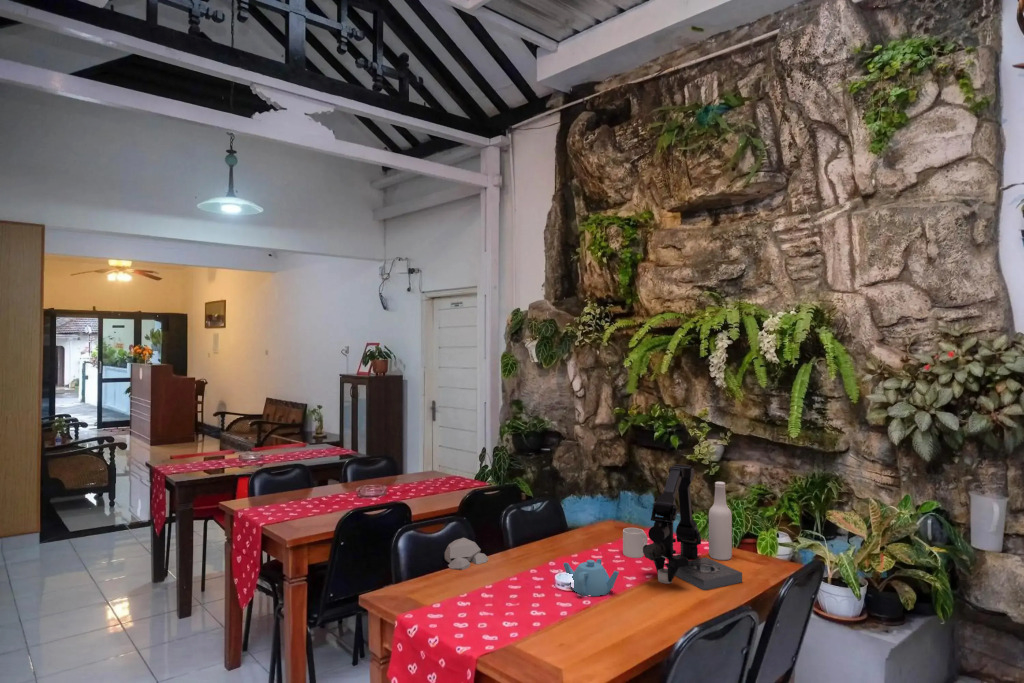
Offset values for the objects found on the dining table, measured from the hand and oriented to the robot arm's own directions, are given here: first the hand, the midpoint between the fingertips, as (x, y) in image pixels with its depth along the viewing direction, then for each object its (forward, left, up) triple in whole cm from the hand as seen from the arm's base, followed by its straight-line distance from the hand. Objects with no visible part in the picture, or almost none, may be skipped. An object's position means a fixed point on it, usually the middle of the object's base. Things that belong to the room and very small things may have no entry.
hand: (665, 579), depth 223 cm
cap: (0, 0, -1) cm, 1 cm away
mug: (-28, +9, -1) cm, 30 cm away
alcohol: (-12, +38, -1) cm, 40 cm away
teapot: (-4, -29, -1) cm, 29 cm away
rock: (-47, -60, -1) cm, 76 cm away
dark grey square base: (+3, +16, -1) cm, 16 cm away
